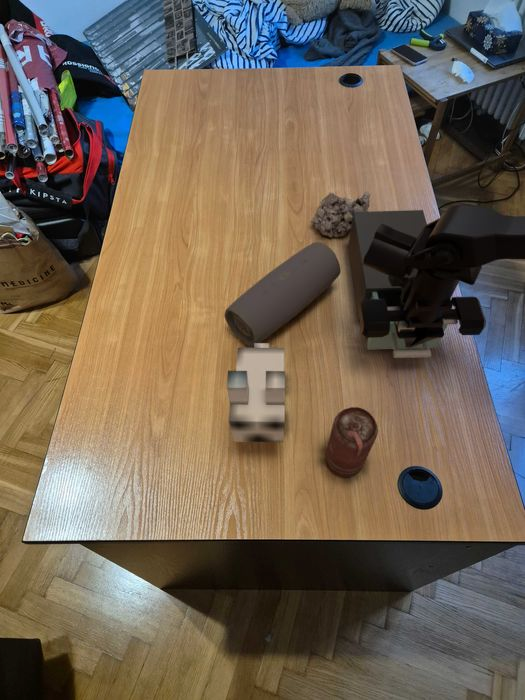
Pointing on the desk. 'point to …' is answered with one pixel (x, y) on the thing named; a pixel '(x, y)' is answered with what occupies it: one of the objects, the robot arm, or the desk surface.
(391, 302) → the billiard ball
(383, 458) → the desk surface
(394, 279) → the robot arm
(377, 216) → the drawer box
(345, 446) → the can
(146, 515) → the desk surface
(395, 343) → the mint green drawer
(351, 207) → the mineral specimen
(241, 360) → the toy llama
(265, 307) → the bluetooth speaker
